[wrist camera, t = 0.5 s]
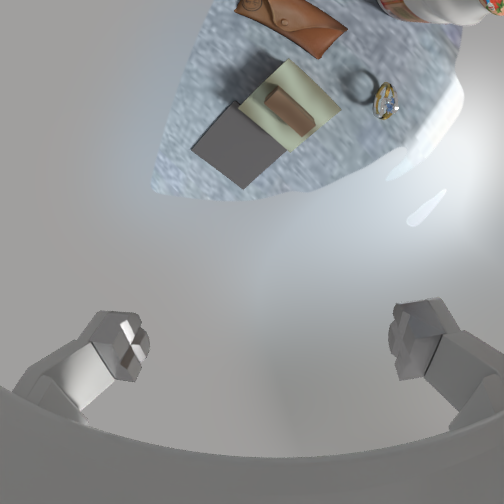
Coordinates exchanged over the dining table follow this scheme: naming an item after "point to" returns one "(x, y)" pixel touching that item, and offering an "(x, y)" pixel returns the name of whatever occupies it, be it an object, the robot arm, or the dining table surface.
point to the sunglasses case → (295, 22)
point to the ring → (390, 103)
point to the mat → (238, 147)
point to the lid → (289, 106)
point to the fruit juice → (442, 10)
